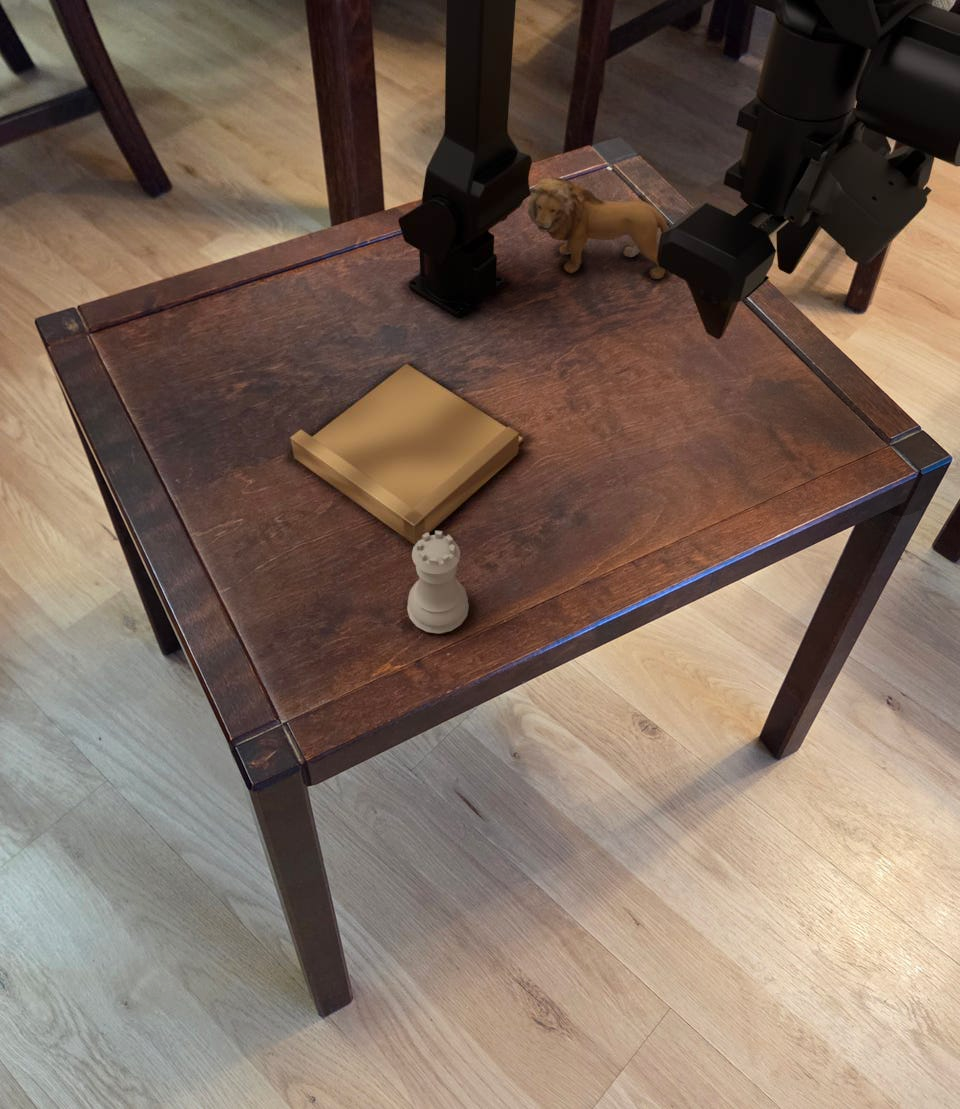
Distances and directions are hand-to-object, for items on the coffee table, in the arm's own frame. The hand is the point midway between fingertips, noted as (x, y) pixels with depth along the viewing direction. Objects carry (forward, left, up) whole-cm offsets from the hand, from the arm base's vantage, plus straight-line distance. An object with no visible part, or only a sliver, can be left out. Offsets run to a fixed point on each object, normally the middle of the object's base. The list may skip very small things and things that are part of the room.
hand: (750, 302), depth 75 cm
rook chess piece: (-6, -27, -15) cm, 31 cm away
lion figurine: (-20, +11, -15) cm, 28 cm away
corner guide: (-18, -17, -15) cm, 29 cm away
